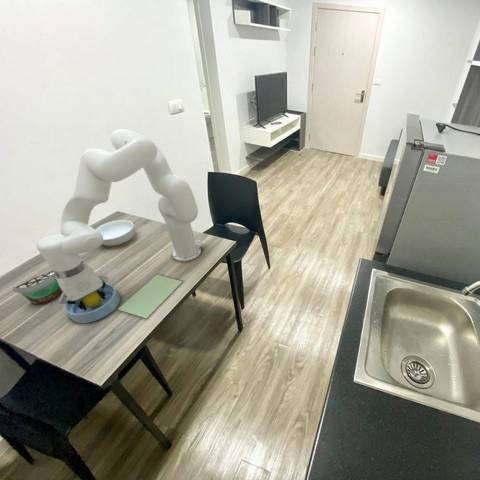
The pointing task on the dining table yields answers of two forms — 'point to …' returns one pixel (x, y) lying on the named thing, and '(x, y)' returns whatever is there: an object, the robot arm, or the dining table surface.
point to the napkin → (150, 296)
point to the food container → (40, 289)
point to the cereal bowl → (116, 232)
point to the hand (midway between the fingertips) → (93, 302)
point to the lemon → (91, 299)
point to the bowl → (96, 312)
